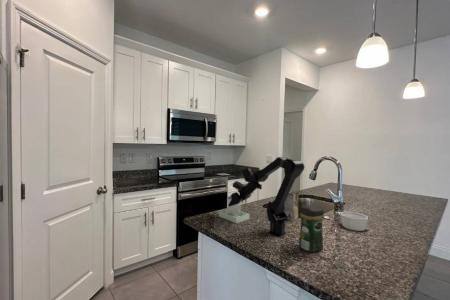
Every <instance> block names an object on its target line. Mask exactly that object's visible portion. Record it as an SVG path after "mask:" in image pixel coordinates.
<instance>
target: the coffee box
mask: <svg viewBox="0 0 450 300" xmlns="http://www.w3.org/2000/svg"><path fill="white" fill-rule="evenodd" d="M299 196H300V195H299V191H295V190H294V191H293V190H290V192H289V194H288V196H287V198H286V201H285V203H284V205H285V210H284V211H285V213H286V215H287V216H288V220H287V221H289V220H290V221H291V222H294V221H295V220H296V219H298V218H299Z"/></svg>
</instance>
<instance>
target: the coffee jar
mask: <svg viewBox="0 0 450 300" xmlns="http://www.w3.org/2000/svg"><path fill="white" fill-rule="evenodd" d="M324 213H325V212H324V208H323V206H321V205H319V204H310V205H302V206H300V211H299V216H300V231H299V232H300V233H299V240H298V241H299V242H298V246H299V247H300V248H301V249H302V250H303V251H306V252H309V253H315V252H319V251H321V250H323V249H324V239H323V221H324Z"/></svg>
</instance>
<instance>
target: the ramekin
mask: <svg viewBox="0 0 450 300" xmlns="http://www.w3.org/2000/svg"><path fill="white" fill-rule="evenodd" d="M368 220H369V217H368V216H367V215H365V214H363V213H362V214H361V213H359V212H353V211H341V212H340V222H341V223H340V224H341V225H342V226H343V228H346V229H348V230H351V231H354V232H355V231H357V232H363V231H365V230H366V229H367V225H368Z"/></svg>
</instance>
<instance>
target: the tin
mask: <svg viewBox="0 0 450 300" xmlns="http://www.w3.org/2000/svg"><path fill="white" fill-rule="evenodd" d="M231 199H232V198H231V195H230V196H227V205H226V206H227V209H226V210H227V214H228V215H231V216H234V217H236V218H237V217H240V214H241V212H242V211H241V210H242V209H241V208H242V206H241V205H242V201H241V202H240V203H239V204H236V205H233V206H228V205H229V203H230V201H231Z"/></svg>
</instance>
